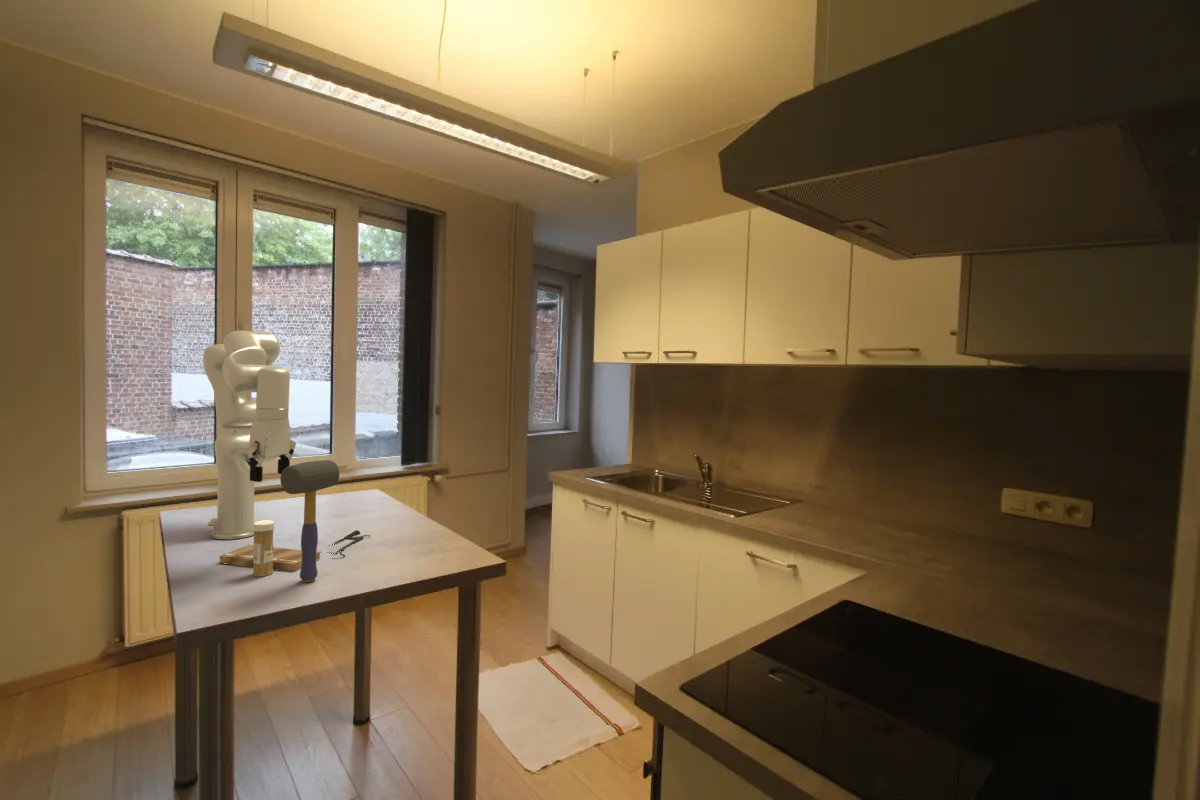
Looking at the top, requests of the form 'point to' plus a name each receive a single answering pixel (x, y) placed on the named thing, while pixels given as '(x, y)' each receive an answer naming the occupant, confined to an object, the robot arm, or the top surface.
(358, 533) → the hacksaw
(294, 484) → the rubber mallet
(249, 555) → the board
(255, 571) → the sprinkles bottle
